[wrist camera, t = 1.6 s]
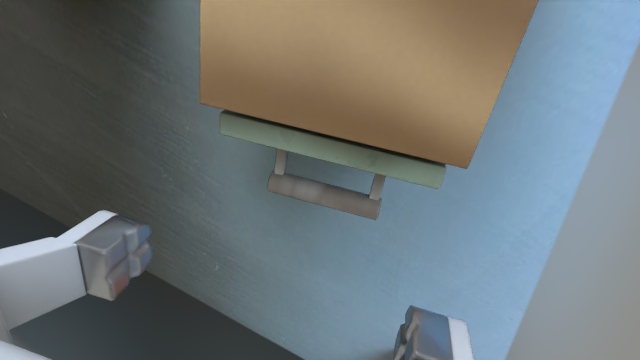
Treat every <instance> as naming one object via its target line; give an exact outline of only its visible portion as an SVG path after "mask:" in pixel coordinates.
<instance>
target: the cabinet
mask: <svg viewBox="0 0 640 360" xmlns="http://www.w3.org/2000/svg"><path fill="white" fill-rule="evenodd" d="M537 3H538V0H200V103H201V104H204V105H208V106H212V107H216V108H220V109H224V110H228V111H232V112H237V113H241V114H245V115H249V116H253V117H257V118H261V119H265V120H269V121H273V122H277V123H281V124H285V125H290V126H294V127H298V128H302V129H306V130H310V131H314V132H318V133H322V134H326V135H330V136H334V137H339V138H343V139H347V140H351V141H355V142H359V143H363V144H367V145H371V146H375V147H379V148H383V149H387V150H392V151H396V152H400V153H404V154H408V155H412V156H416V157H420V158H424V159H428V160H432V161H436V162H441V163H445V164H449V165H453V166H457V167H461V168H465V169H467V168H468V166H469V164H470V161H471V159H472V157H473V154H474V152H475V150H476V147H477V145H478V143H479V140H480V138H481V135H482V133H483V131H484V128H485V126H486V124H487V121H488V119H489V116H490V114H491V112H492V109H493V107H494V105H495V102H496V100H497V98H498V95H499V93H500V90H501V88H502V86H503V83H504V81H505V79H506V76H507V74H508V72H509V69H510V67H511V64H512V62H513V60H514V57H515V55H516V53H517V50H518V48H519V45H520V43H521V41H522V38H523V36H524V34H525V31H526V29H527V27H528V24H529V22H530V19H531V17H532V15H533V12H534V10H535V8H536V5H537Z"/></svg>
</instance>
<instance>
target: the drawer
mask: <svg viewBox="0 0 640 360" xmlns="http://www.w3.org/2000/svg"><path fill="white" fill-rule="evenodd" d="M219 133H220V134H223V135H227V136H230V137H234V138H238V139H242V140H246V141H250V142H254V143H258V144H262V145H266V146H270V147H274V148H277V153H276V161H275V169H274V170H273V171H272V173H271V175H270V177H269V180H268V191H270V192H273V193H277V194H281V195H284V196H288V197H292V198H296V199H299V200H303V201H307V202H310V203H314V204H318V205H321V206H325V207H329V208H333V209H336V210H340V211H344V212H347V213H351V214H355V215H358V216H362V217H366V218H369V219H373V220H376V219H377V217H378V214H379V211H380V207H381V202H382V199H381V198H379V197H380V194H381V191H382V187H383V184H384V181H385V177H386V176H388V177H392V178H396V179H400V180H403V181H407V182H411V183H415V184H419V185H423V186H427V187H431V188H435V189H439V187H440V185H441V182H442V179H443V177H444V174H445V172H446V164H445V163H441V162H436V161H432V160H428V159H424V158H420V157H416V156H412V155H408V154H404V153H400V152H396V151H392V150H387V149H383V148H379V147H375V146H371V145H367V144H363V143H359V142H355V141H351V140H347V139H343V138H339V137H334V136H330V135H326V134H322V133H318V132H314V131H310V130H306V129H302V128H298V127H294V126H290V125H285V124H281V123H277V122H273V121H269V120H265V119H261V118H257V117H253V116H249V115H245V114H241V113H237V112H232V111H228V110H224V111H222V112H221V113H220V131H219ZM288 151H289V152H293V153H297V154H301V155H305V156H309V157H313V158H317V159H321V160H325V161H329V162H333V163H337V164H341V165H344V166H348V167H352V168H356V169H360V170H364V171H368V172H372V173H375V176H374V180H373V183H372V187H371V191H370V194H369V195H368V194H364V193H360V192H357V191H353V190H349V189H345V188H341V187H338V186H334V185H330V184H326V183H322V182H319V181H315V180H311V179H307V178H303V177H299V176H296V175H292V174H288V173H285V172H286V165H287V158H288Z"/></svg>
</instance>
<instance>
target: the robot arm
mask: <svg viewBox="0 0 640 360" xmlns="http://www.w3.org/2000/svg"><path fill="white" fill-rule="evenodd" d="M151 235H152V234H151V226H149V225H148V224H146V223H143V222H140V221H137V220H134V219H131V218H128V217H125V216H122V215H118V214H115V213H112V212H109V211H106V210H103V211H99V212H97V213H95V214H94V215H92V216H91V217H89V218H88V219H86V220H84V221H83V222H81V223H80V224H78V225H76V226H75V227H73V228H72V229H70V230H69V231H67V232H65V233H64V234H62V235H61V236H59V237H57V238H53V237H49V238H45V239H41V240H37V241H32V242H28V243H24V244H20V245H16V246H11V247H7V248H3V249H0V360H51V359H49V358H46V357H44V356H41V355H38V354H35V353H33V352H30V351H27V350H25V349H22V348H20V347H17V346H14V345H13V341H12V338H11V336H10V333H9V329H12V328H14V327H16V326H18V325H21V324H23V323H25V322H27V321H30V320H32V319H34V318H36V317H38V316H40V315H43V314H45V313H47V312H49V311H51V310H54V309H56V308H58V307H60V306H62V305H64V304H67V303H69V302H71V301H73V300H75V299H77V298H80V297H82V296H84V295H86V293H88V294H91V295H94V296H98V297H101V298H104V299H107V300H110V301H113V300H114V299H115V298H116V297H117V296H119V295H120V294H121V293H122V292H123V291H124V290H125V289H126V288H127V287H128V286H129V282H130V278H133V277H136V276H138V275H140V274H141V273H142V272H143V271H144V270H145V269H146V268H147V266H148V264H149V262H150V261H151V258H152V253H153V250H152V245H151V244H150V242H149V241H148V238H149V237H150V236H151ZM394 360H474V358H473V352H472V347H471V342H470V337H469V332H468V327H467V324H466V322H465V321H462V320H459V319H455V318H452V317H448V316H445V315H441V314H438V313H435V312H431V311H428V310H425V309H421V308H418V307H415V306H411V305H410V307H409V308H408V310H407V312H406V314H405V323H404V324H402V325H401V326H400V329H399V331H398V334H397V338H396V342H395V348H394Z"/></svg>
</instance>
